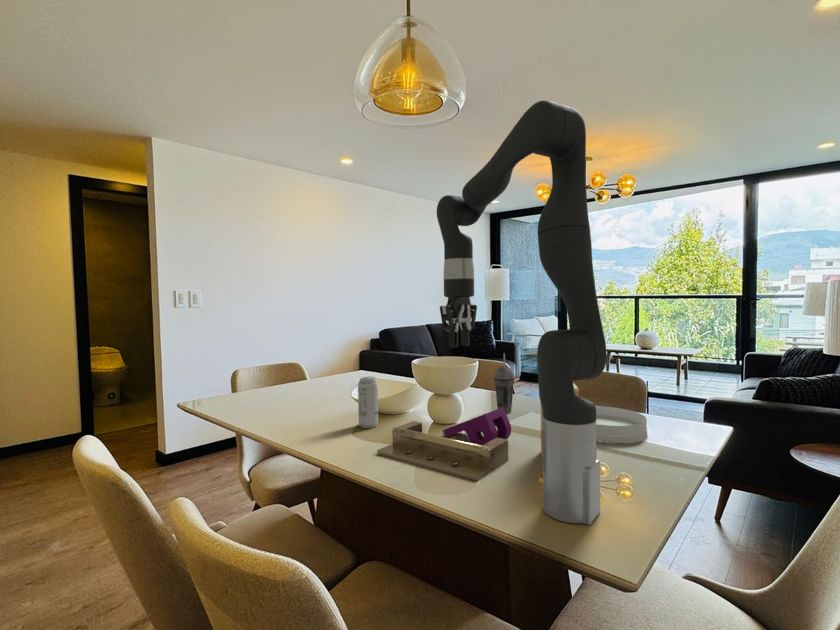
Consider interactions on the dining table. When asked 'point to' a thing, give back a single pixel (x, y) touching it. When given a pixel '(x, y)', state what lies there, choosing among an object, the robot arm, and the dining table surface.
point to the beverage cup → (504, 387)
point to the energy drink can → (368, 402)
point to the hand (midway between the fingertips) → (459, 346)
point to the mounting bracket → (483, 427)
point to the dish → (619, 425)
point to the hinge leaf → (445, 452)
